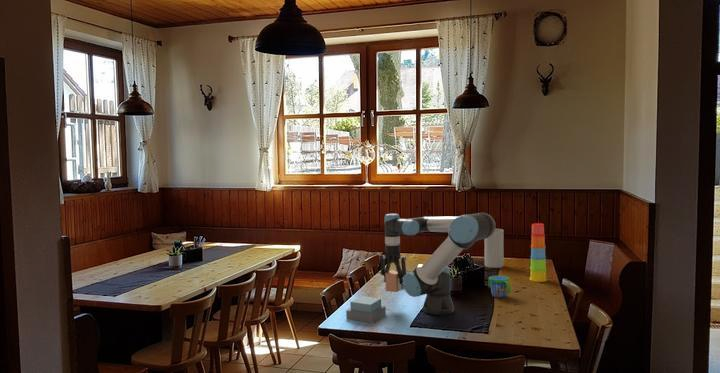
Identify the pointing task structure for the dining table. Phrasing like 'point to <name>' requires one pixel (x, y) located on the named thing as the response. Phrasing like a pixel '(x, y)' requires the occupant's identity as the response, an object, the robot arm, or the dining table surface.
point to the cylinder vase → (495, 249)
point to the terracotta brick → (392, 281)
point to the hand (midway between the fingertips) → (393, 289)
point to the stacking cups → (538, 254)
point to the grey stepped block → (365, 309)
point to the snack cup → (499, 285)
